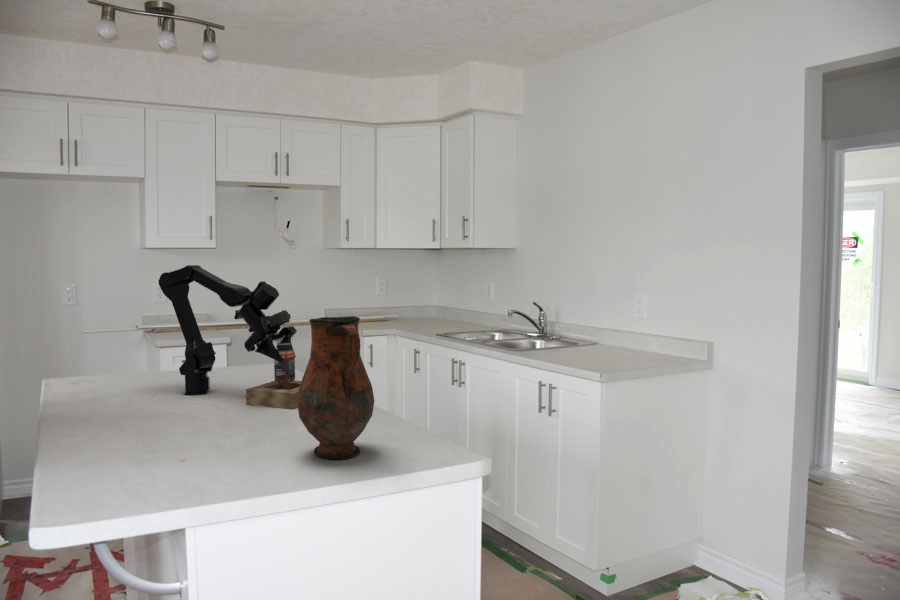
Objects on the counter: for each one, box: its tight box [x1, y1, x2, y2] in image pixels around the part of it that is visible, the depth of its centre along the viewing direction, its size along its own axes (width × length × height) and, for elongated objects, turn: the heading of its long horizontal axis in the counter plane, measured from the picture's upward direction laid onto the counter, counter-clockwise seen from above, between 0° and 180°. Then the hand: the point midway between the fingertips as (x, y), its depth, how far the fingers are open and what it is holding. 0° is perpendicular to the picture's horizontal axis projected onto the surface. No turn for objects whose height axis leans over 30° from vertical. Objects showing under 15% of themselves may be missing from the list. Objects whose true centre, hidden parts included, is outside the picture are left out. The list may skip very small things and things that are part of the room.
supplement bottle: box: [273, 342, 296, 383], centre depth 198 cm, size 6×6×11 cm
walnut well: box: [245, 380, 302, 410], centre depth 199 cm, size 16×16×4 cm
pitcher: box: [297, 315, 375, 461], centre depth 145 cm, size 17×21×30 cm
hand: (288, 359), depth 198 cm, fingers closed on supplement bottle, 6 cm apart
